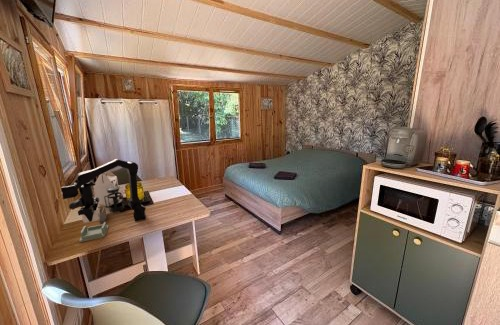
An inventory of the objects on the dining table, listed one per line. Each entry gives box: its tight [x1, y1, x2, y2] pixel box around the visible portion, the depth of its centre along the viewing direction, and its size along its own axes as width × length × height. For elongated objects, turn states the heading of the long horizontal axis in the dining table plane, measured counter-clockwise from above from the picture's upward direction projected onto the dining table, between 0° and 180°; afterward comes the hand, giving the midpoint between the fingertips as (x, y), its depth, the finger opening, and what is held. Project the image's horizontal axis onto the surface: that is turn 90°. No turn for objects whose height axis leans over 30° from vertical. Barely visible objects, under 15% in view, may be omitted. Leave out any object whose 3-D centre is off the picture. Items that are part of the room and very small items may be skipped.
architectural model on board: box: [98, 204, 107, 224], centre depth 143 cm, size 11×3×10 cm, turn 27°
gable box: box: [92, 170, 120, 208], centre depth 171 cm, size 22×13×28 cm, turn 27°
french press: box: [104, 180, 125, 213], centre depth 155 cm, size 12×9×23 cm
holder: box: [78, 221, 110, 243], centre depth 126 cm, size 12×13×4 cm
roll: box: [81, 209, 100, 224], centre depth 124 cm, size 7×6×6 cm
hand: (92, 218), depth 124 cm, fingers closed on roll, 6 cm apart
